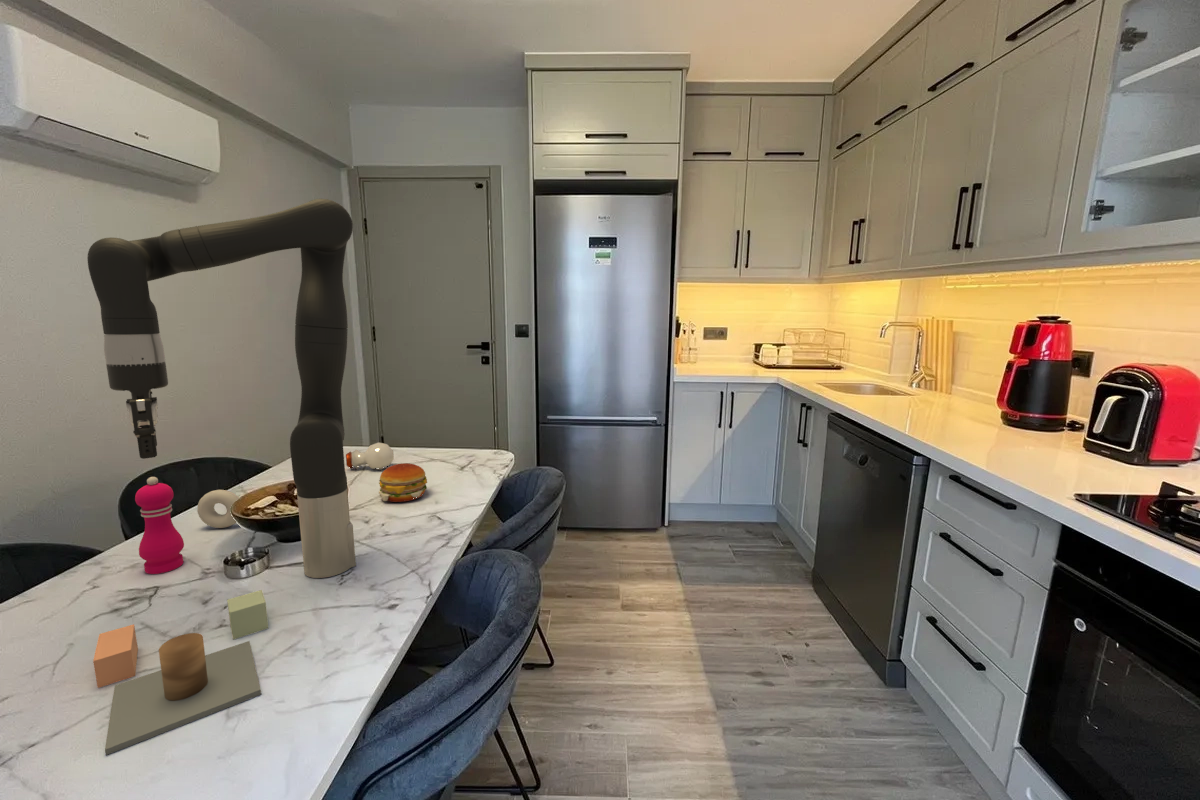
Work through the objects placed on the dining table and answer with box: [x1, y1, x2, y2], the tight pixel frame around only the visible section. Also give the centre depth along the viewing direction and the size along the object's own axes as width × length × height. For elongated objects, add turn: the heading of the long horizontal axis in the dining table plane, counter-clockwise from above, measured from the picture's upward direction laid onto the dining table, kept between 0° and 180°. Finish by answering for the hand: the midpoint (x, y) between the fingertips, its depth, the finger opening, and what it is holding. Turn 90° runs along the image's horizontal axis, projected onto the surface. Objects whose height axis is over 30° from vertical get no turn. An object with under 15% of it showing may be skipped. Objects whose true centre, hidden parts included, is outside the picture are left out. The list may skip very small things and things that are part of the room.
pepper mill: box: [134, 476, 185, 575], centre depth 106 cm, size 7×7×20 cm
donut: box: [197, 489, 240, 529], centre depth 126 cm, size 10×4×10 cm, turn 98°
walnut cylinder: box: [158, 632, 208, 701], centre depth 71 cm, size 5×5×7 cm
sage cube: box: [226, 589, 269, 640], centre depth 87 cm, size 5×5×5 cm
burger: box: [378, 462, 428, 503], centre depth 149 cm, size 13×14×10 cm
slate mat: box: [104, 640, 262, 756], centre depth 72 cm, size 16×14×1 cm
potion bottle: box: [345, 442, 395, 471], centre depth 176 cm, size 9×10×15 cm
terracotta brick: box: [92, 623, 139, 689], centre depth 77 cm, size 8×4×4 cm, turn 40°
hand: (149, 452), depth 89 cm, fingers open, 8 cm apart
